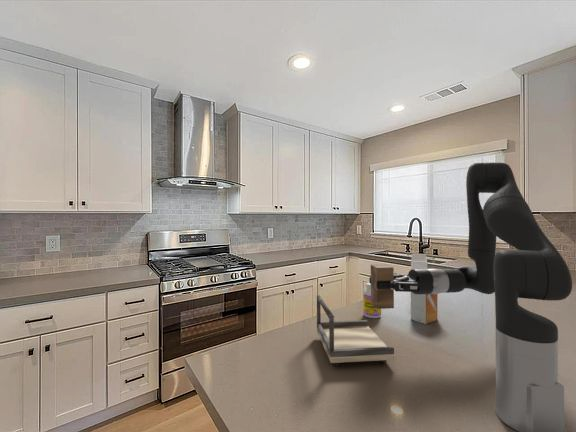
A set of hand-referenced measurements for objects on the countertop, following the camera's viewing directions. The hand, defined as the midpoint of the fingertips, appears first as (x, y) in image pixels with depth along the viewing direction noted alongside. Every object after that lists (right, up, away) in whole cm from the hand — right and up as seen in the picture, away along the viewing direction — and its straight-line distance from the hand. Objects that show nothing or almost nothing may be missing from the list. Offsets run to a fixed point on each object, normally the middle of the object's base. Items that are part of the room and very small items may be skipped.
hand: (373, 282), depth 84 cm
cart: (-7, -20, -1) cm, 21 cm away
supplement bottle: (+8, -20, +28) cm, 35 cm away
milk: (+35, -20, +45) cm, 60 cm away
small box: (+26, -20, +23) cm, 40 cm away
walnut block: (+3, -7, 0) cm, 7 cm away
